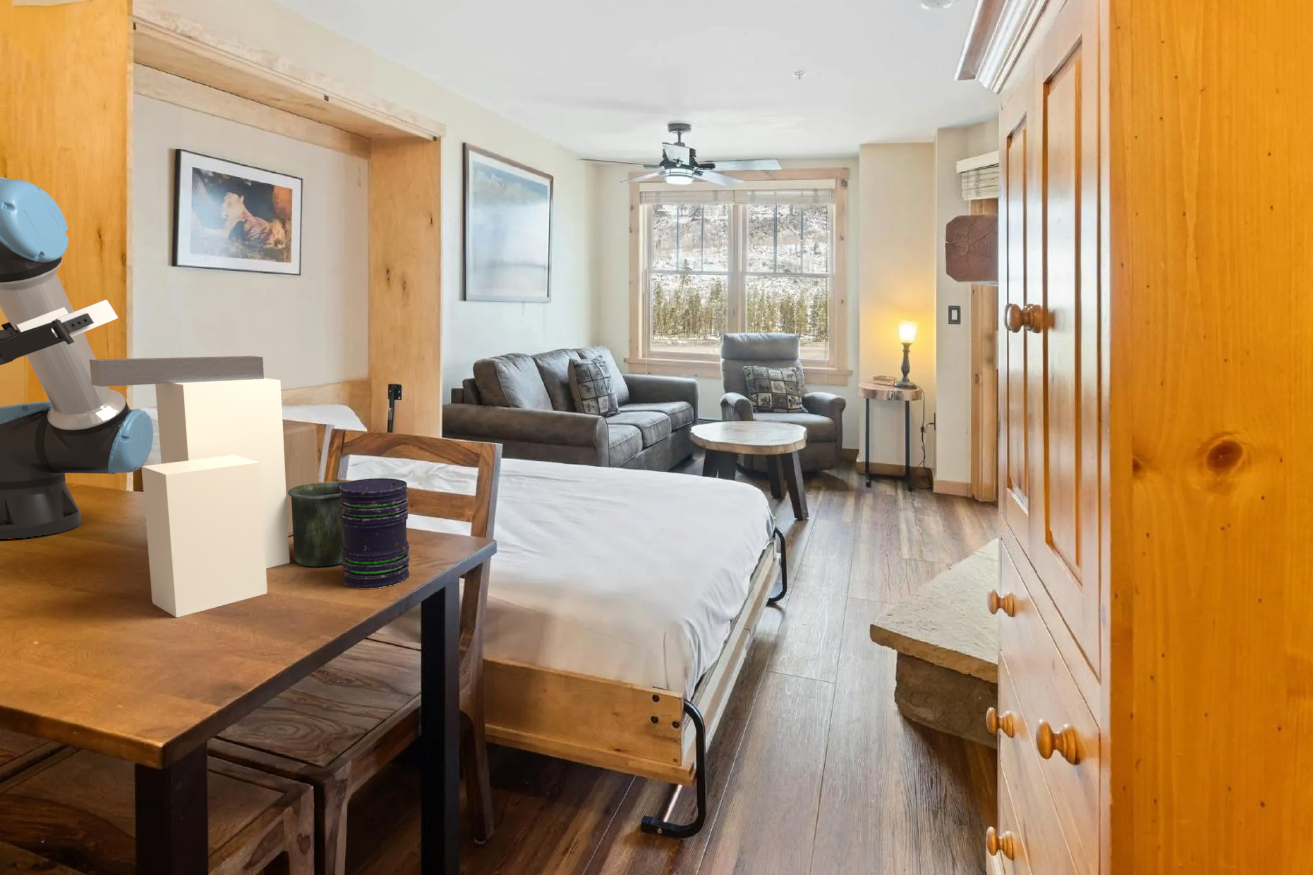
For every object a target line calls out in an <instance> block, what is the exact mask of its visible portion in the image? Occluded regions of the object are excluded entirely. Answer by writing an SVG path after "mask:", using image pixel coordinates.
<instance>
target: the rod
mask: <svg viewBox="0 0 1313 875" xmlns="http://www.w3.org/2000/svg"><path fill="white" fill-rule="evenodd" d="M89 361H90V372H91V383H92V385H95V386H100V387H102V386H109V387H116V386H117V387H119V386H120V387H122V386H141V385H142V386H143V385H155V384H167V383H189V382H211V381H233V380H254V379H264V378H265V374H264V372H265V371H264V357H263V356H256V355H241V356H240V355H238V356H237V355H233V356H230V355H229V356H227V355H226V356H195V357H194V356H193V357H192V356H189V357H188V356H187V357H184V356H182V357H151V358H150V357H148V358H147V357H145V358H144V357H143V358H142V357H141V358H140V357H138V358H136V357H135V358H103V359H101V358H96V359H89Z"/></svg>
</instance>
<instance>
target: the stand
mask: <svg viewBox="0 0 1313 875" xmlns="http://www.w3.org/2000/svg"><path fill="white" fill-rule="evenodd" d="M281 381H282V380H281V379H274V378H267V377H264V379H254V380H233V381H211V382H189V383H167V384H154V386H155V395H156V396H155V397H156V398H155V399H156V410H157V411H156V412H157V422H158V423H157V424H158V437H159V438H158V439H159V449H160V450H159V451H160V462H161V463H160V464H164V463H173V462H181V461H189V460H198V459H206V458H214V457H222V456H231V455H235V456H239V457H242V458H246V459H250V460H253V461H257V462H260V472H261V490H262V507H263V525H264V543H265V561H266V569H270V568H273V567H278V566H282V565H283V566H284V565H287V564H290V563H291V562H290V561H291V560H290V559H291V558H290V542H289V540H290V539H289V536H288V519H287V499H286V480H285V460H284V440H283V407H282V406H283V405H282V387H281V386H282V384H281Z"/></svg>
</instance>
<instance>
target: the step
mask: <svg viewBox="0 0 1313 875" xmlns="http://www.w3.org/2000/svg"><path fill="white" fill-rule="evenodd" d="M141 476H142V489H143V500H144V501H143V503H144V512H145V513H144V514H145V526H146V528H145V529H146V538H147V539H146V540H147V550H148V551H147V552H148V564H149V565H148V566H149V573H150V574H149V575H150V576H149V577H150V588H151V589H150V590H151V600H152V604H153V605H155V606H157V607H158V608H159V609H161V610H163V611H165V612H166V613H167V614H170V615H171V616H172V617H175V619H176V618H181V617H185V616H188V615H192V614H195V613H199V612H203V611H206V610H210V609H211V610H212V609H214V608H217V607H218V608H219V607H221V606H225V605H228V604H229V605H230V604H232V603H237V602H240V601H245V600H248V599H251V598H255V597H258V596H263V595H266V594H268V583H267V582H268V580H267V568H266V561H265V543H264V525H263V507H262V490H261V472H260V462H257V461H253V460H250V459H246V458H242V457H239V456H235V455H231V456H222V457H214V458H206V459H198V460H189V461H181V462H173V463H164V464H161V463H157V464H148V465H142V467H141Z"/></svg>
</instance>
